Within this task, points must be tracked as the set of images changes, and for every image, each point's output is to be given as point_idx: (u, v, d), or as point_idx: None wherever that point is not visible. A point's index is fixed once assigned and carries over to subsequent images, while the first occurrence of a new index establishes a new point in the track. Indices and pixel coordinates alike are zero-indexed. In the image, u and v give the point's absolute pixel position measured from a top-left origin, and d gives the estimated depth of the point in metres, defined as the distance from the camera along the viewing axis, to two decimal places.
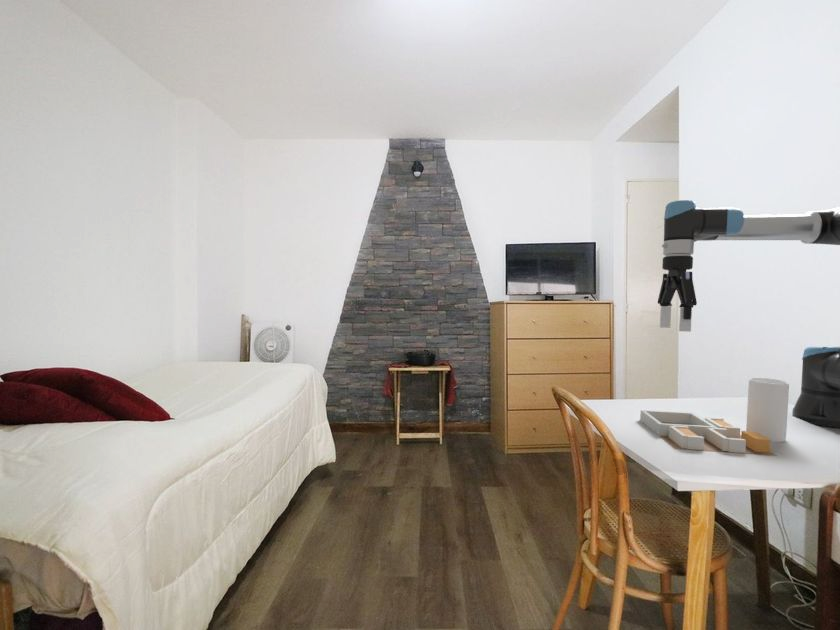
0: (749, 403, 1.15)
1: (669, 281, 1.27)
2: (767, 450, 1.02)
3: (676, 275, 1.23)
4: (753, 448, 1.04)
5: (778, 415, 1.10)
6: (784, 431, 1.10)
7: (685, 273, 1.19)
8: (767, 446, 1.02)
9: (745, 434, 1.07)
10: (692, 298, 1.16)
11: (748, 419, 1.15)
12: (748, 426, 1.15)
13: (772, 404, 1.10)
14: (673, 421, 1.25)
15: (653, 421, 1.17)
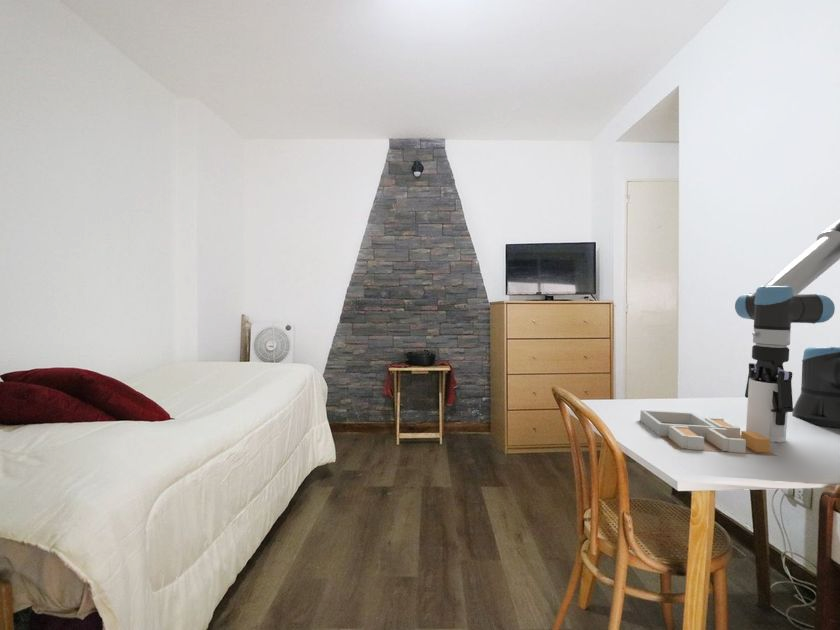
0: (749, 403, 1.15)
1: (760, 372, 1.15)
2: (767, 450, 1.02)
3: (771, 368, 1.11)
4: (753, 448, 1.04)
5: None
6: (784, 431, 1.10)
7: (784, 374, 1.07)
8: (767, 446, 1.02)
9: (745, 434, 1.07)
10: (788, 404, 1.06)
11: (748, 419, 1.15)
12: (748, 426, 1.15)
13: (772, 404, 1.10)
14: (673, 421, 1.25)
15: (653, 421, 1.17)
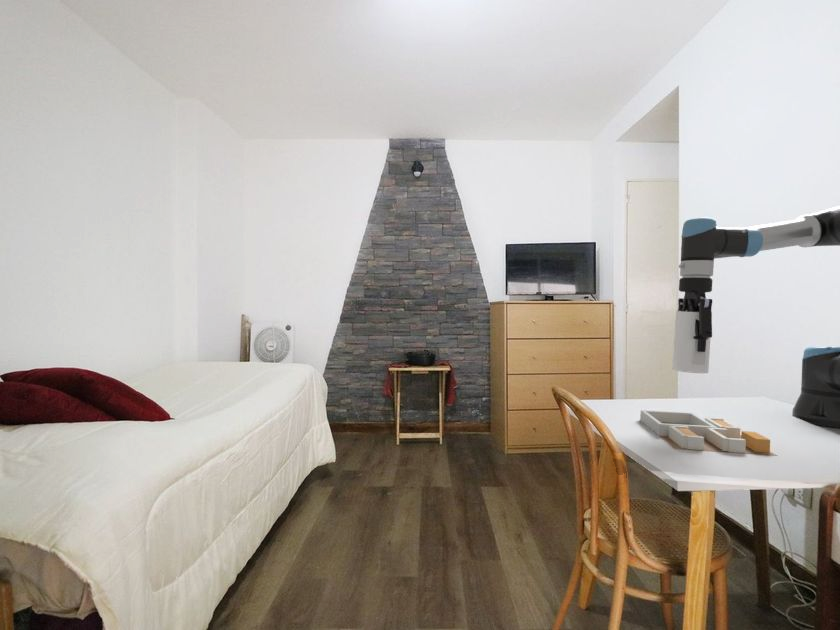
0: (675, 334, 1.18)
1: (686, 304, 1.18)
2: (767, 450, 1.02)
3: (694, 298, 1.14)
4: (753, 448, 1.04)
5: None
6: (706, 359, 1.14)
7: (704, 301, 1.10)
8: (767, 446, 1.02)
9: (745, 434, 1.07)
10: (708, 330, 1.10)
11: (674, 349, 1.18)
12: (674, 356, 1.18)
13: None
14: (673, 421, 1.25)
15: (653, 421, 1.17)
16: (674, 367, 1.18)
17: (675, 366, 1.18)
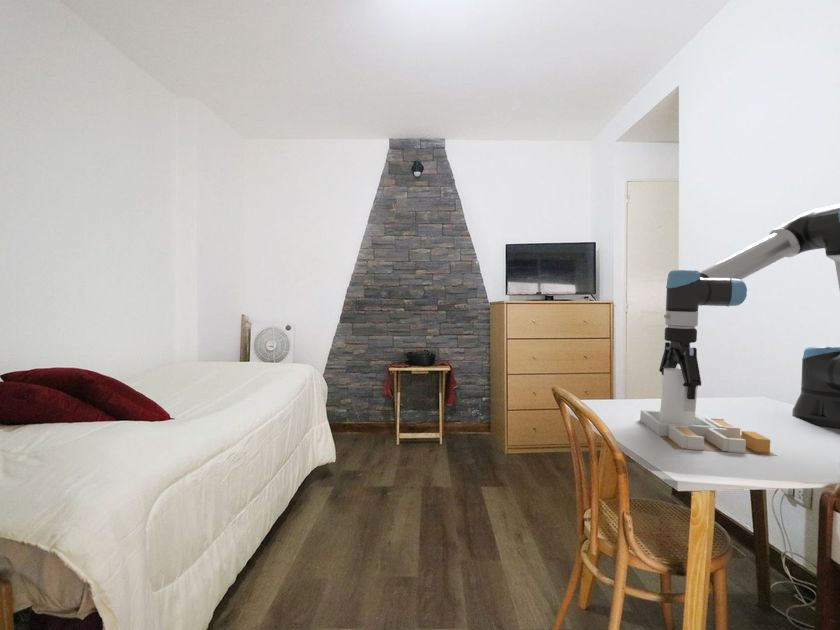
0: (662, 391, 1.20)
1: (672, 353, 1.20)
2: (767, 450, 1.02)
3: (679, 349, 1.16)
4: (753, 448, 1.04)
5: None
6: (691, 419, 1.16)
7: (689, 349, 1.12)
8: (767, 446, 1.02)
9: (745, 434, 1.07)
10: (696, 378, 1.09)
11: (661, 407, 1.20)
12: (661, 413, 1.20)
13: (681, 392, 1.15)
14: None
15: (653, 421, 1.17)
16: None
17: None
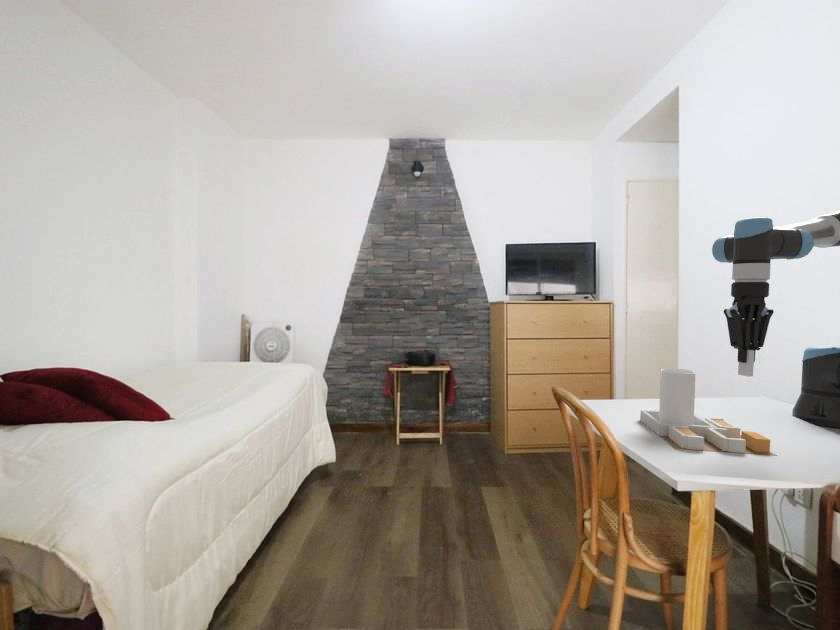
0: (660, 392, 1.20)
1: None
2: (767, 450, 1.02)
3: None
4: (753, 448, 1.04)
5: (684, 403, 1.15)
6: (690, 419, 1.16)
7: (726, 312, 1.08)
8: (767, 446, 1.02)
9: (745, 434, 1.07)
10: (735, 341, 1.08)
11: (660, 408, 1.20)
12: (660, 414, 1.20)
13: (678, 393, 1.15)
14: None
15: (653, 421, 1.17)
16: None
17: None
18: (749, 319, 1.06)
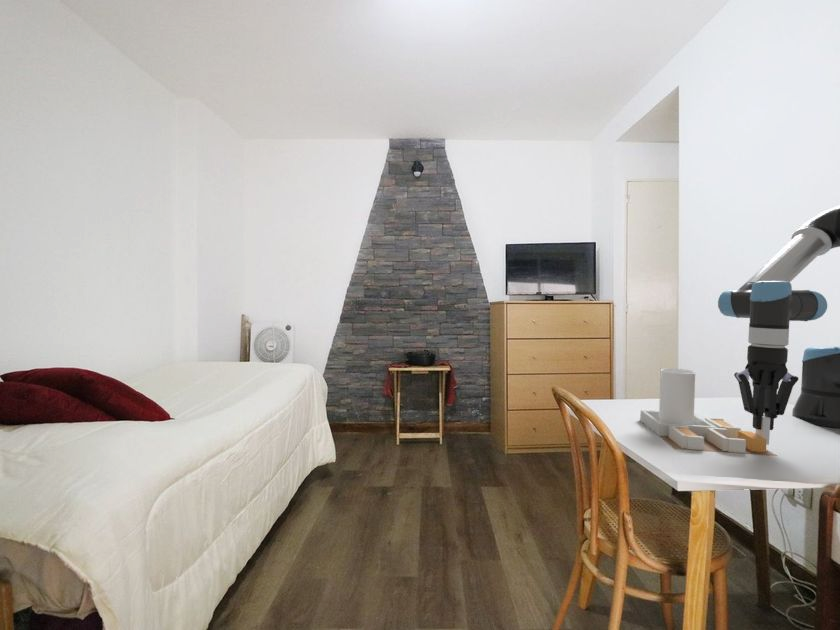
0: (660, 392, 1.20)
1: None
2: (763, 450, 1.03)
3: None
4: (749, 448, 1.04)
5: (683, 403, 1.15)
6: (690, 419, 1.16)
7: (736, 376, 1.06)
8: (763, 445, 1.02)
9: (741, 434, 1.07)
10: (746, 406, 1.05)
11: (659, 408, 1.20)
12: (660, 414, 1.20)
13: (677, 393, 1.15)
14: None
15: (653, 421, 1.17)
16: None
17: None
18: (762, 385, 1.03)
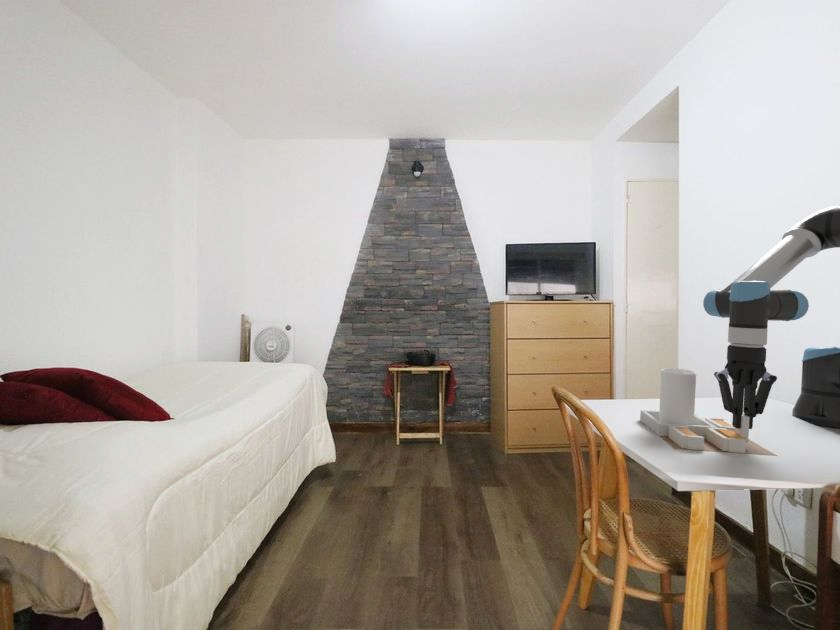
0: (660, 392, 1.20)
1: None
2: None
3: None
4: None
5: (684, 404, 1.15)
6: (690, 419, 1.15)
7: (716, 376, 1.07)
8: None
9: (721, 433, 1.08)
10: (726, 405, 1.06)
11: (660, 408, 1.20)
12: (660, 414, 1.20)
13: (678, 393, 1.15)
14: None
15: (653, 421, 1.17)
16: None
17: None
18: (741, 384, 1.04)
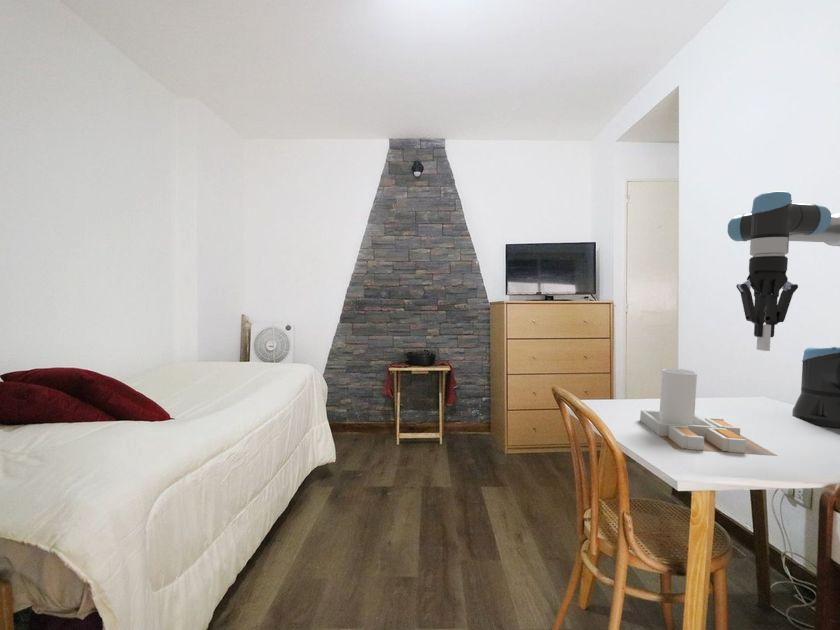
0: (661, 392, 1.20)
1: None
2: None
3: None
4: None
5: (684, 404, 1.15)
6: (690, 419, 1.15)
7: (738, 287, 1.10)
8: None
9: (719, 432, 1.08)
10: (748, 315, 1.09)
11: (660, 407, 1.20)
12: (660, 414, 1.20)
13: (678, 393, 1.15)
14: None
15: (653, 421, 1.17)
16: None
17: None
18: (763, 293, 1.08)
